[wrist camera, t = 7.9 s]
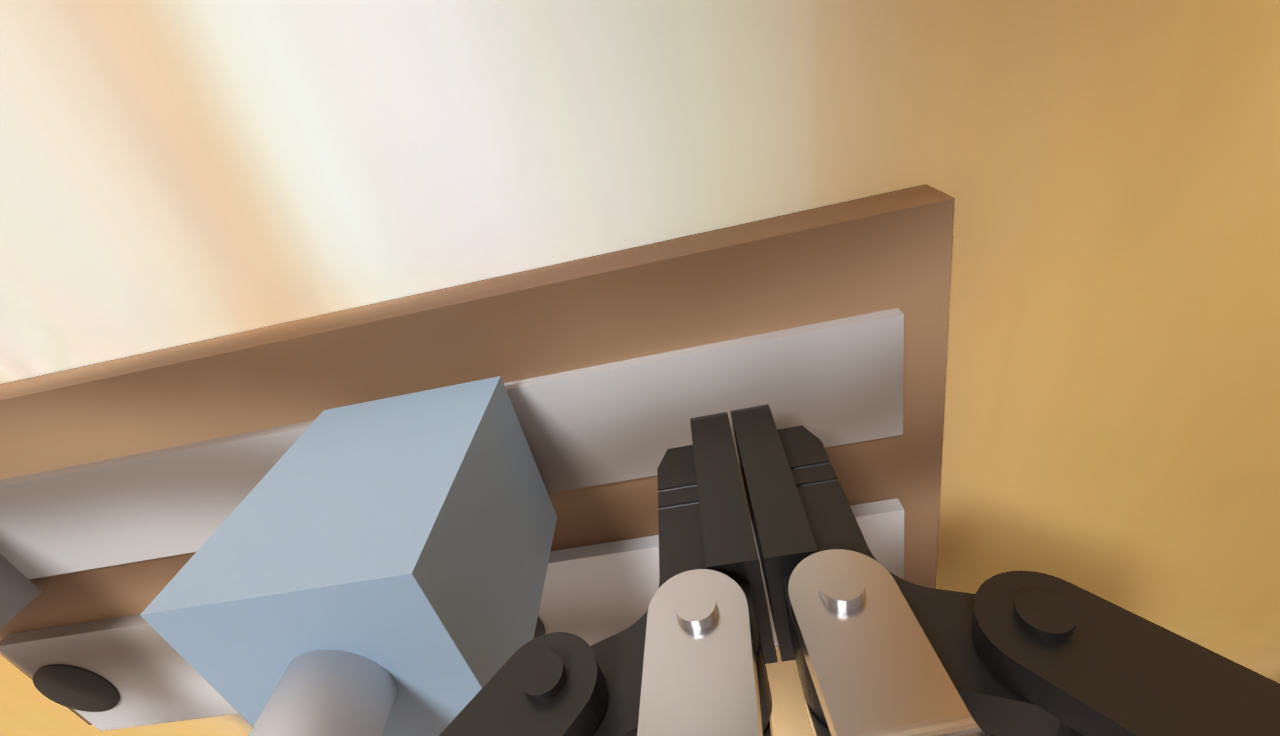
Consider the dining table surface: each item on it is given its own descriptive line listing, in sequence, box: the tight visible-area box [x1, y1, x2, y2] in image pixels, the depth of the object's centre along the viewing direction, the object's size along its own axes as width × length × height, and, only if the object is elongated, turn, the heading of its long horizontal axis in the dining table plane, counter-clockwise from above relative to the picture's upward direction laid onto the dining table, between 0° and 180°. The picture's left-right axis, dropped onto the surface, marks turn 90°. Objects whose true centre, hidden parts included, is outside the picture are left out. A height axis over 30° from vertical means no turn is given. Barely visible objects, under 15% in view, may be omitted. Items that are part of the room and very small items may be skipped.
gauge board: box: [0, 185, 955, 731], centre depth 11 cm, size 12×28×10 cm, turn 103°
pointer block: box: [140, 376, 557, 736], centre depth 9 cm, size 4×4×9 cm
